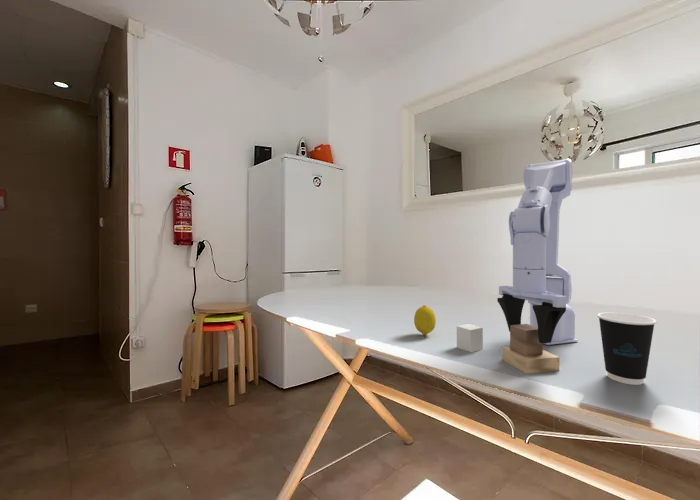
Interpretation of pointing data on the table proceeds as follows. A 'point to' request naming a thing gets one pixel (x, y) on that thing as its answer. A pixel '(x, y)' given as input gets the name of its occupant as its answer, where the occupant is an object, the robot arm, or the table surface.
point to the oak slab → (531, 361)
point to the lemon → (424, 320)
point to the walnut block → (525, 340)
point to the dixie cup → (626, 345)
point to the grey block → (469, 337)
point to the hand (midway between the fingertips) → (528, 336)
